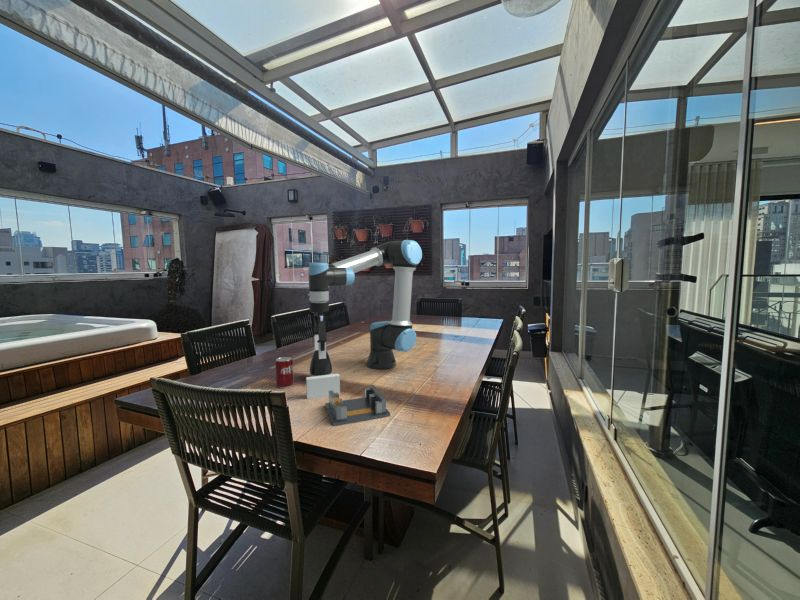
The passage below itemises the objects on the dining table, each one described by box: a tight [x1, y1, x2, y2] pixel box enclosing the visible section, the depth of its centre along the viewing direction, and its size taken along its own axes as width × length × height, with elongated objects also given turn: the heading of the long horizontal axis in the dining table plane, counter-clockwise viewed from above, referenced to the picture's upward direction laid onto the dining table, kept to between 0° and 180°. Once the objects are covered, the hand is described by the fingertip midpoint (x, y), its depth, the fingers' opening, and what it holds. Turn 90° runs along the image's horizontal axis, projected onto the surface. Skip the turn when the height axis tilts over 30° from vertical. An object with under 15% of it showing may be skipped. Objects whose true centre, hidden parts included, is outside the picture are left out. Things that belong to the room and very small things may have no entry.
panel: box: [305, 373, 341, 400], centre depth 136 cm, size 13×3×8 cm, turn 112°
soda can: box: [274, 356, 295, 389], centre depth 147 cm, size 7×7×12 cm
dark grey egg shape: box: [309, 349, 333, 377], centre depth 154 cm, size 10×10×15 cm
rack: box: [324, 384, 391, 427], centre depth 122 cm, size 20×17×7 cm
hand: (320, 354), depth 135 cm, fingers open, 13 cm apart
